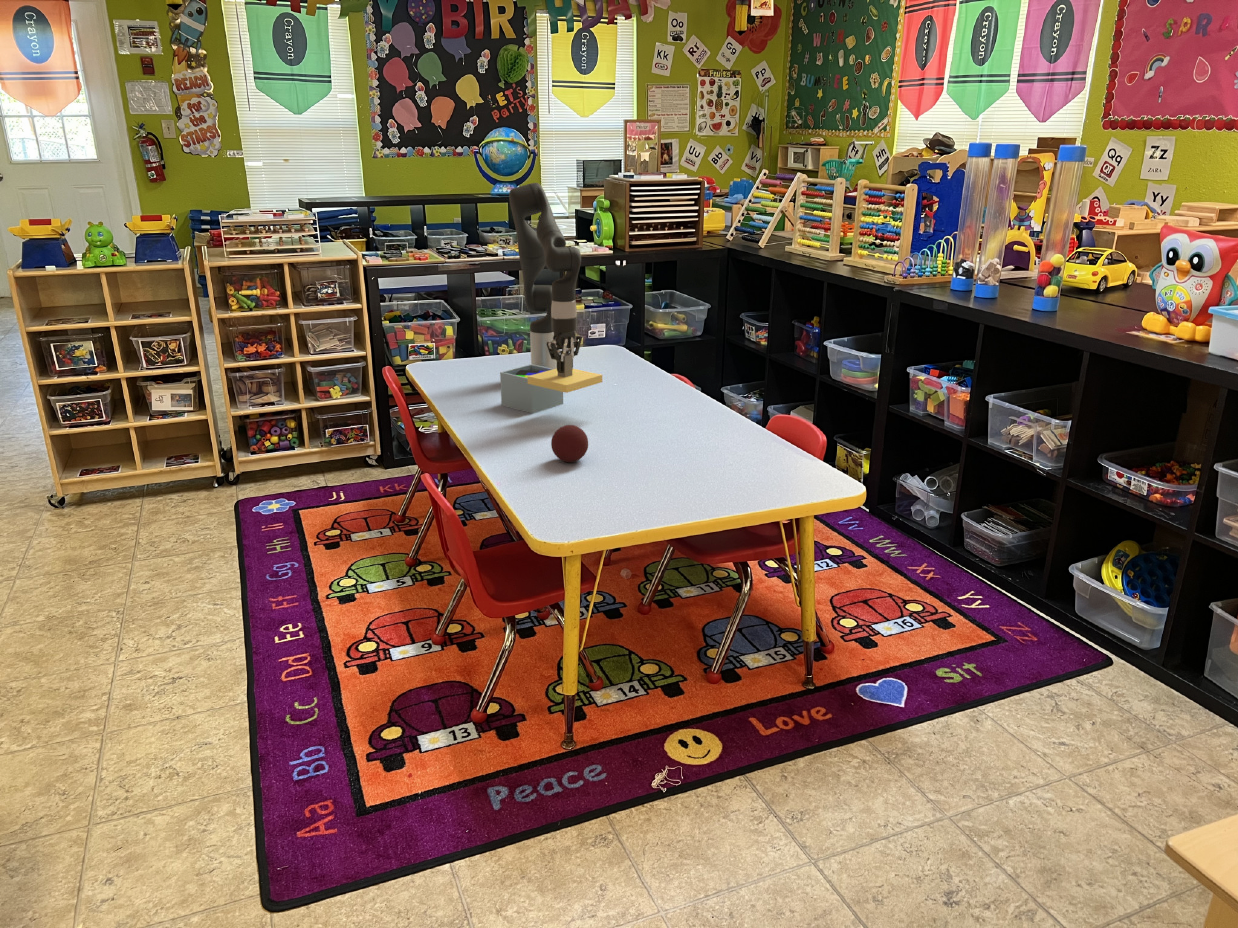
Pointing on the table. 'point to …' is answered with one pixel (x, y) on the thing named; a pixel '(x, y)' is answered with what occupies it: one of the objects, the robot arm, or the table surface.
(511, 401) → the box
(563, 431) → the decorative ball
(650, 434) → the table surface
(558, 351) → the robot arm
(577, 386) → the lid
